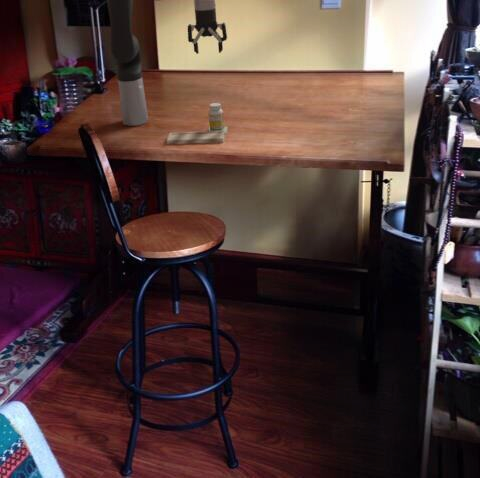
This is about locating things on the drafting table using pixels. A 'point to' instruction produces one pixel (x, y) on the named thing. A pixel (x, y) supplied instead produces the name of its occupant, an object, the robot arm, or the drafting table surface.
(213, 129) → the supplement bottle
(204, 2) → the robot arm
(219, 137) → the birch board
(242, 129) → the drafting table surface
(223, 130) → the end pad
